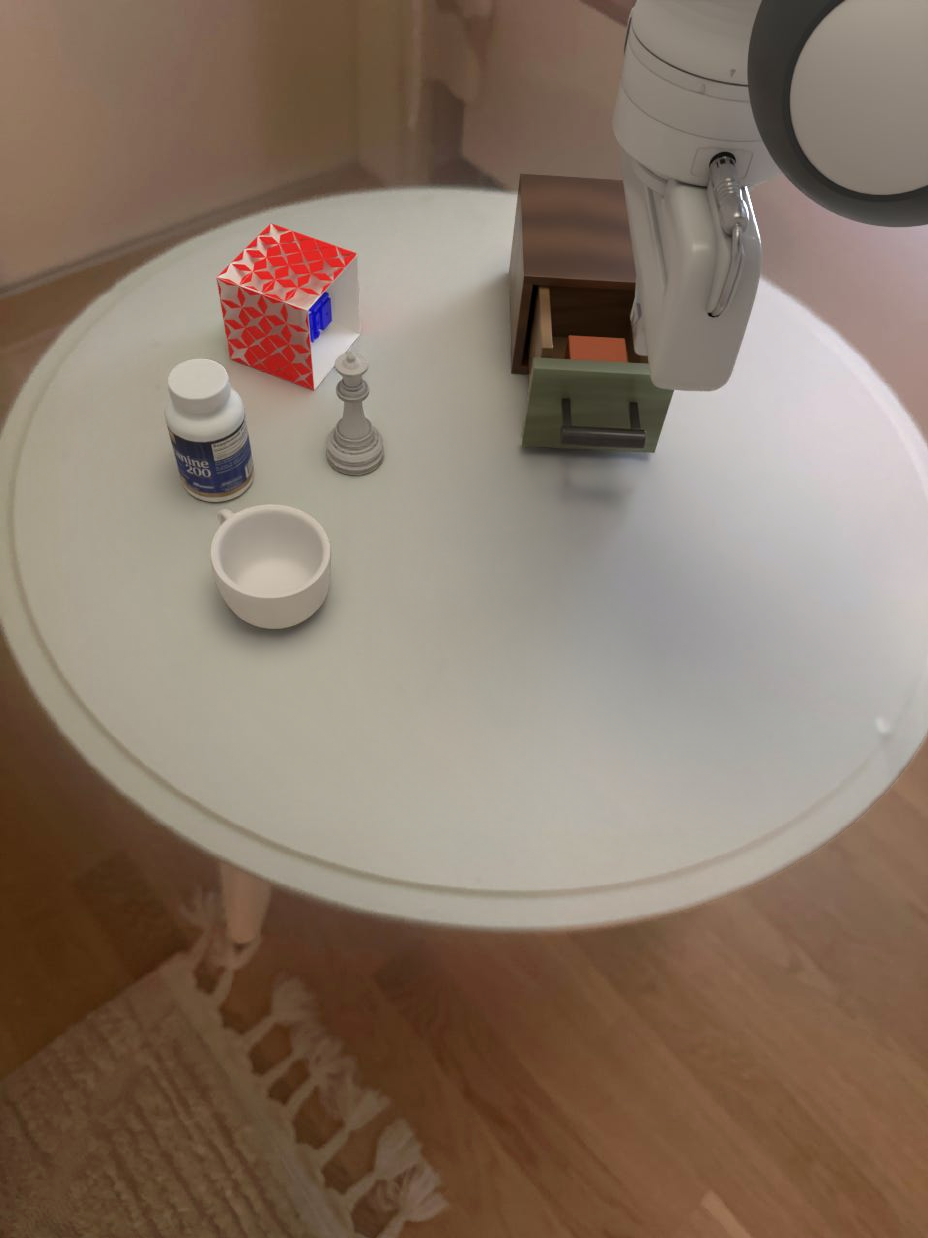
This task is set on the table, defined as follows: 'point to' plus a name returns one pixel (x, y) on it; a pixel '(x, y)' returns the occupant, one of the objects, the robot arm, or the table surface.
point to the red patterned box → (290, 305)
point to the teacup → (271, 564)
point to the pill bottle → (208, 431)
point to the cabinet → (565, 245)
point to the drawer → (588, 376)
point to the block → (596, 349)
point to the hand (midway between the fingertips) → (645, 339)
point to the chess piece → (353, 422)
